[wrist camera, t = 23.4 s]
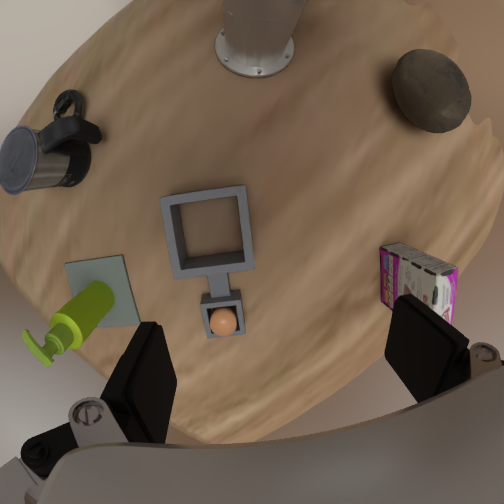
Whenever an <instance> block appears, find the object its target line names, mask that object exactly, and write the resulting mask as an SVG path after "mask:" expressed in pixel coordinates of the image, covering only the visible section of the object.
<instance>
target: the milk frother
mask: <svg viewBox="0 0 504 504" xmlns="http://www.w3.org/2000/svg"><path fill="white" fill-rule="evenodd" d="M71 99H73V100H74V103H75V109H74V114H73V116H67V117H63V118H60V117H59V115H58V113H63V112H66V108H67V107H68V105H69V104H70V100H71ZM81 110H82V100H81V96H80V94H79V93H78V92H77V91H76V90H70V89H69V90H66V91H64V92H62V93H61V94H60V95H59V96H58V98H57V99H56V101H55V104H54V108H53V114H52V116H54V120H55V121H53V122H52V123H50V124H49V125H48V126H46V127H45V128H44V129H43V130H35V129H31V128H29V127H28V126H25V125H21V126H18V127H16V128H14V129H13V130H12V131H11V132H10V133H9V134H8V135H7V137H6V138H5V140H4V142H3V144H2V147H1V150H0V184H1V186H2V188H3V189H4V191H5V192H7V193H8V194H10V195H17V194H19V193H21V192H23V191H29V190H36V189H43V188H49V187H57V186H63V187H72V186H75V185H77V184H78V183H79V182H81V181H82V180H83V178H84V177H85V175H86V173H87V171H88V169H89V165H90V159H91V155H90V149H89V145H88V143H91V144H98V143H99V142H100V141H101V140H102V135H101V132H100V129H99V127H98V126H96V125H94V124H92V123H90V122H88V121H86V120H84V119H82V118H80V116H81ZM87 142H88V143H87Z"/></svg>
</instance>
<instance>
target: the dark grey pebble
mask: <svg viewBox="0 0 504 504" xmlns="http://www.w3.org/2000/svg"><path fill="white" fill-rule="evenodd" d="M392 85H393V91H394V95H395V98H396V100H397V103H398V105H399V107H400V108H401V110H402V112H403V113H404V114H405V115H406V117H407V118H408V119H409V120H410V121H411V122H412V123H414V124H415V125H416V126H418V127H419V128H421V129H423V130H425V131H428V132H431V133H444V132H447V131H450V130H453V129H455V128H457V127H458V126H459V125H461V123H462V122H463V120H464V119H465V117H466V116H467V114H468V113H469V110H470V106H471V93H470V90H469V86H468V83H467V80H466V78H465V76H464V74H463V73H462V71H461V70H460V69H459V67H458V66H457V65H456V64H455V63H454V62H453V61H452V60H451V59H449V58H448V57H446V56H445V55H443V54H440V53H438V52H435V51H432V50H426V49H417V50H412V51H410V52H408V53H406V54H405V55H403V56H402V57H401V58H400V59H399V61H398V62H397V65H396V67H395V69H394V71H393V74H392Z"/></svg>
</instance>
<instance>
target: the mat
mask: <svg viewBox="0 0 504 504" xmlns="http://www.w3.org/2000/svg"><path fill="white" fill-rule="evenodd" d="M64 267H65V270H66V274H67V278H68V281H69V285H70V288H71V291H72V294H73V297H75V296H76V295H77V294H78V293H80V292H81V291H82V290H83V289H84V288H86V287H87V286H88V285H89V284H90V283H92V282H94V281H101V282H104V283H105V284H107V285H108V286H109V287H110V288H111V290H112V291H113V294H114V298H115V302H114V305H113V307H112V308H111V310H110V311H109V312H108V313H107V314H106V315H105V317H104V318H103V319H102V320H101V321H100V323H99V324H98V325H97V326H96V327H113V326H135V325H140V323H141V320H140V317H139V314H138V310H137V307H136V304H135V300H134V296H133V293H132V289H131V285H130V281H129V277H128V273H127V269H126V265H125V260H124V256H123V255H117V256H110V257H103V258H96V259H90V260H83V261H76V262H70V263H65V264H64Z"/></svg>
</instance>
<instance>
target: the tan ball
mask: <svg viewBox="0 0 504 504" xmlns="http://www.w3.org/2000/svg"><path fill="white" fill-rule="evenodd" d="M210 328H211V330H212V331H213V332H214V333H215V334H217V335H219V336H228V335H231V334H232V333H233V332H234V331H235V330H236V312H235V310H234V309H233V308H232V307H230V306H225V307H216V308H214V309H213V310H212V313H211V319H210Z"/></svg>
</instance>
